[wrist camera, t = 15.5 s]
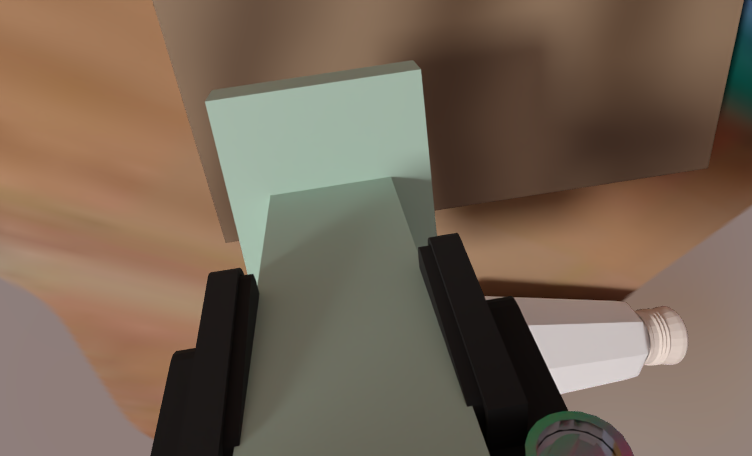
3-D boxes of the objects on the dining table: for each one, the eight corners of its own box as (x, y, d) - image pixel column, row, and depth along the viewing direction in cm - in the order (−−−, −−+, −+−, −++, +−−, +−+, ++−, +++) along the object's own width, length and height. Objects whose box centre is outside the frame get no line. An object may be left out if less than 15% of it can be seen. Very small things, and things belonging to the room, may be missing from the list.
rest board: (761, -178, 20) (781, -177, 19) (694, 157, 26) (707, 168, 26) (133, -91, 19) (126, -87, 18) (227, 229, 26) (225, 242, 25)
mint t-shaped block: (413, 59, 15) (616, 289, 5) (439, 326, 19) (593, 775, 9) (211, 90, 15) (22, 387, 5) (275, 353, 19) (239, 843, 9)
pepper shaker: (454, 432, 28) (664, 408, 31) (490, 391, 24) (732, 366, 26) (430, 325, 31) (624, 310, 34) (459, 270, 27) (678, 257, 29)
